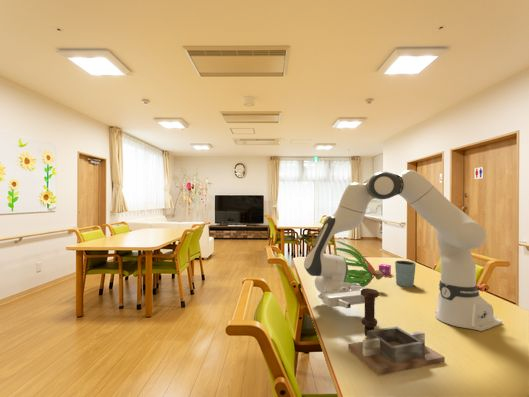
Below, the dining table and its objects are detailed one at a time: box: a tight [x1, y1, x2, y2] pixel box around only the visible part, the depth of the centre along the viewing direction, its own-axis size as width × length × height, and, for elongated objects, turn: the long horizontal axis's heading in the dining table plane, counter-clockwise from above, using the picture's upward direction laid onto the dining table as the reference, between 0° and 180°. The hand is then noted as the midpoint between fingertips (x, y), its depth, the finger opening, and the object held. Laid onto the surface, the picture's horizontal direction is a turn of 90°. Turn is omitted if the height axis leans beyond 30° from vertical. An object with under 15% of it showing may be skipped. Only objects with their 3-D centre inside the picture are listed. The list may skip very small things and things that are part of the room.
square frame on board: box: [347, 326, 446, 376], centre depth 86 cm, size 22×14×6 cm, turn 107°
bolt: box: [361, 287, 380, 337], centre depth 98 cm, size 6×5×15 cm
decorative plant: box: [331, 240, 384, 288], centre depth 152 cm, size 26×25×30 cm
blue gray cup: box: [394, 260, 417, 288], centre depth 158 cm, size 10×10×12 cm
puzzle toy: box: [378, 263, 392, 277], centre depth 179 cm, size 6×6×6 cm
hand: (360, 304), depth 104 cm, fingers open, 8 cm apart
